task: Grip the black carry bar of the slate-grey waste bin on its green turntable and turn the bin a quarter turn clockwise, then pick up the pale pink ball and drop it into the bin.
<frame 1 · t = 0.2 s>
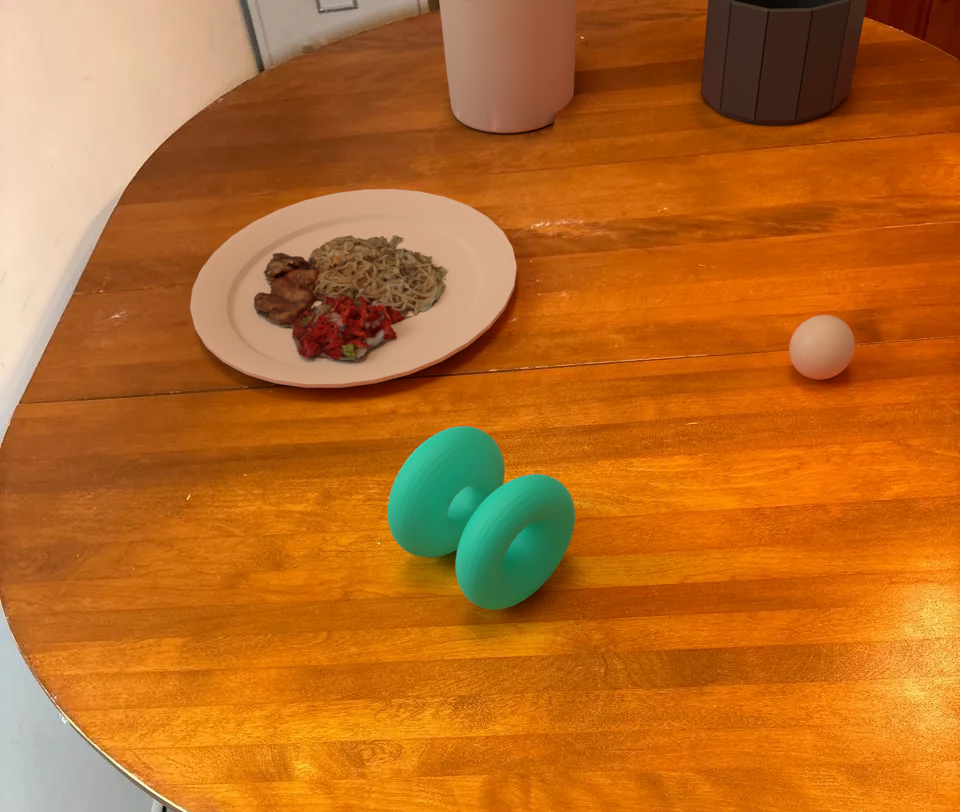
teal spool: (486, 567, 77), on the table
turntable: (771, 101, 114), on the table
utensil holder: (513, 104, 118), on the table
plated food: (356, 297, 98), on the table
bin: (782, 21, 107), point 8 cm above the table, hinge at 0.0°
pale pink ball: (821, 347, 85), point 2 cm above the table
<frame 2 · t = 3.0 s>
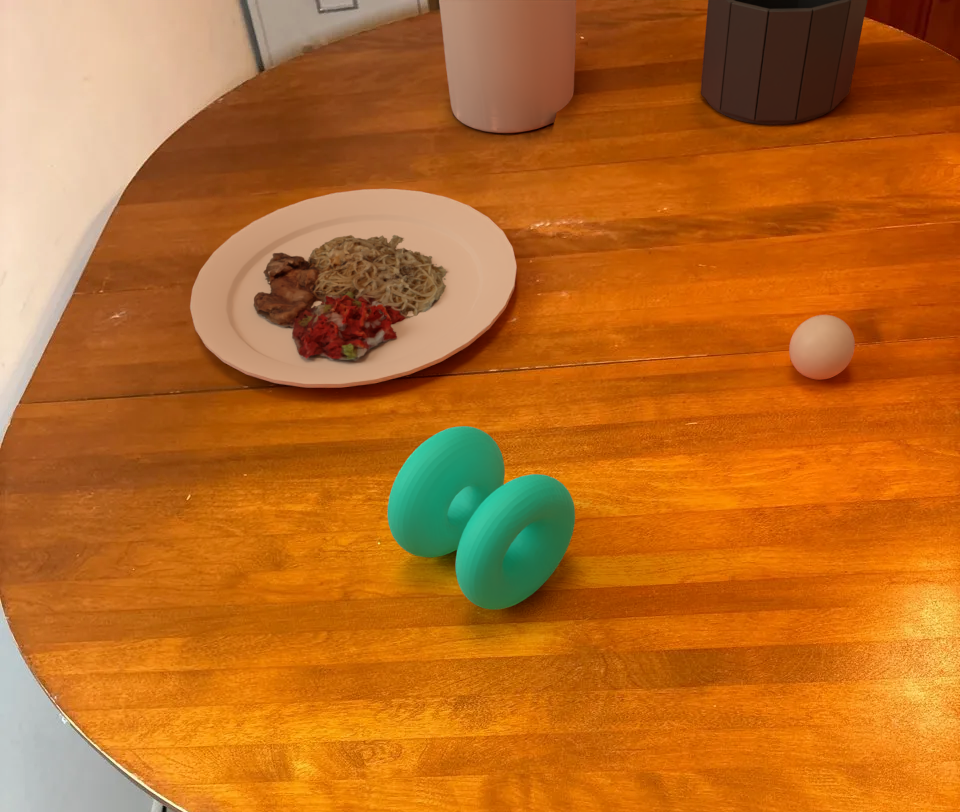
bin: (782, 21, 107), point 8 cm above the table, hinge at 0.0°, touching gripper
everything else where it was.
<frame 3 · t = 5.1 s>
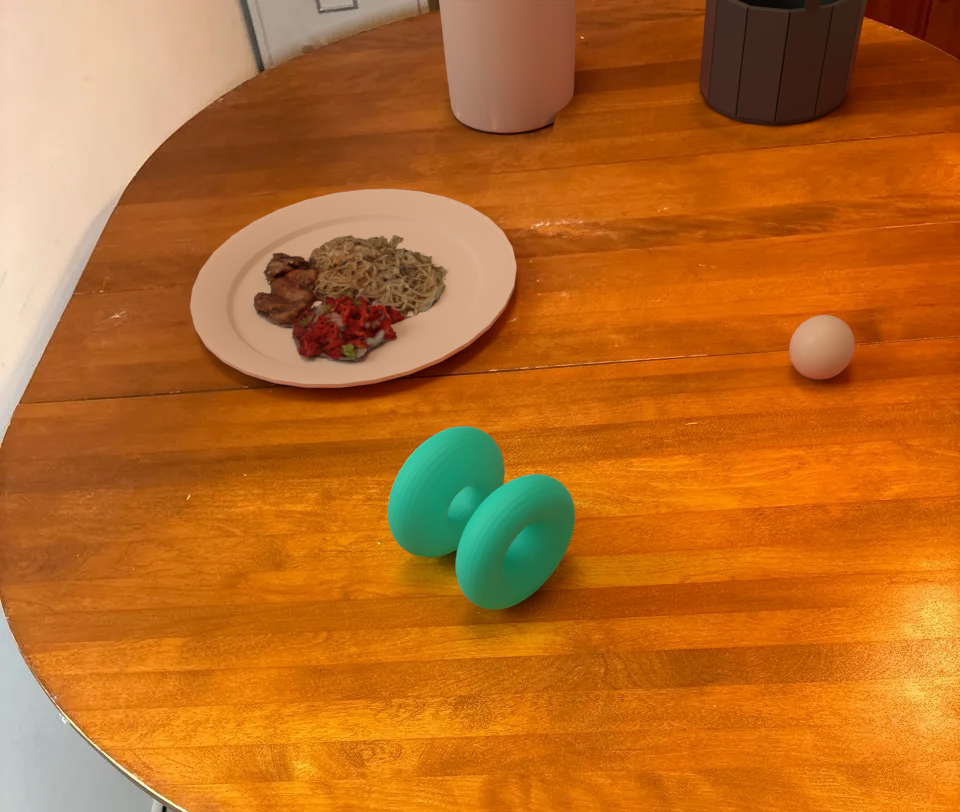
bin: (782, 21, 107), point 8 cm above the table, hinge at -75.2°, touching gripper
everything else where it was.
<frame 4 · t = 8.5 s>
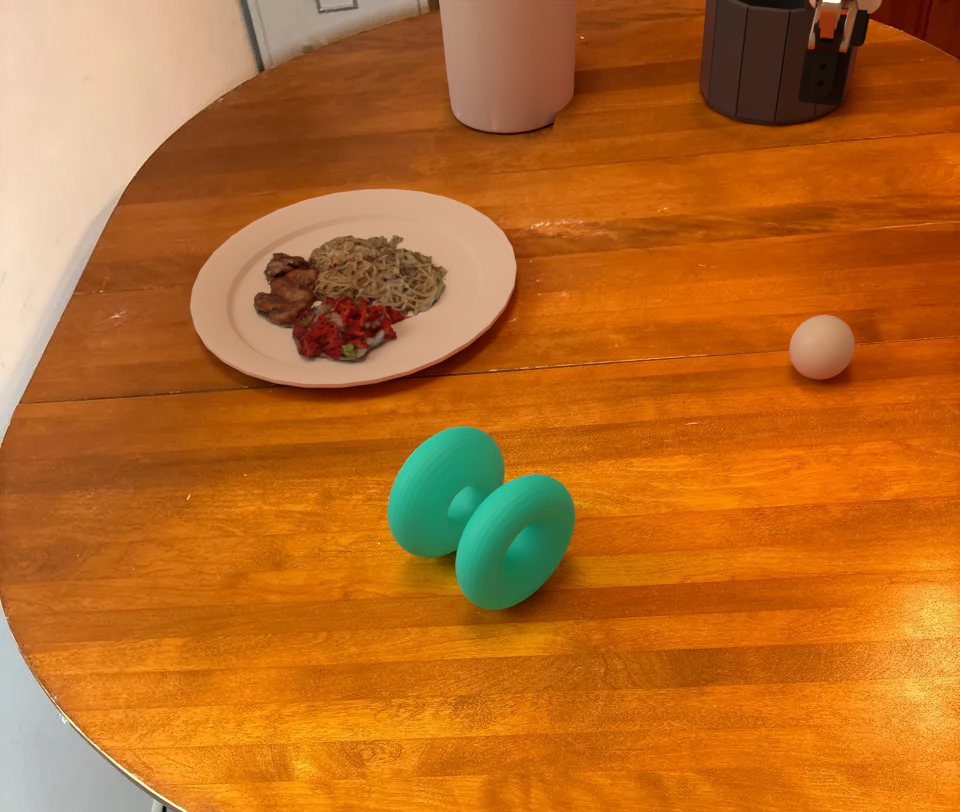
hand: (831, 71, 82), 17 cm above the table, tool pointing down, fingers open, 9 cm apart
bin: (782, 21, 107), point 8 cm above the table, hinge at -75.3°
everything else where it was.
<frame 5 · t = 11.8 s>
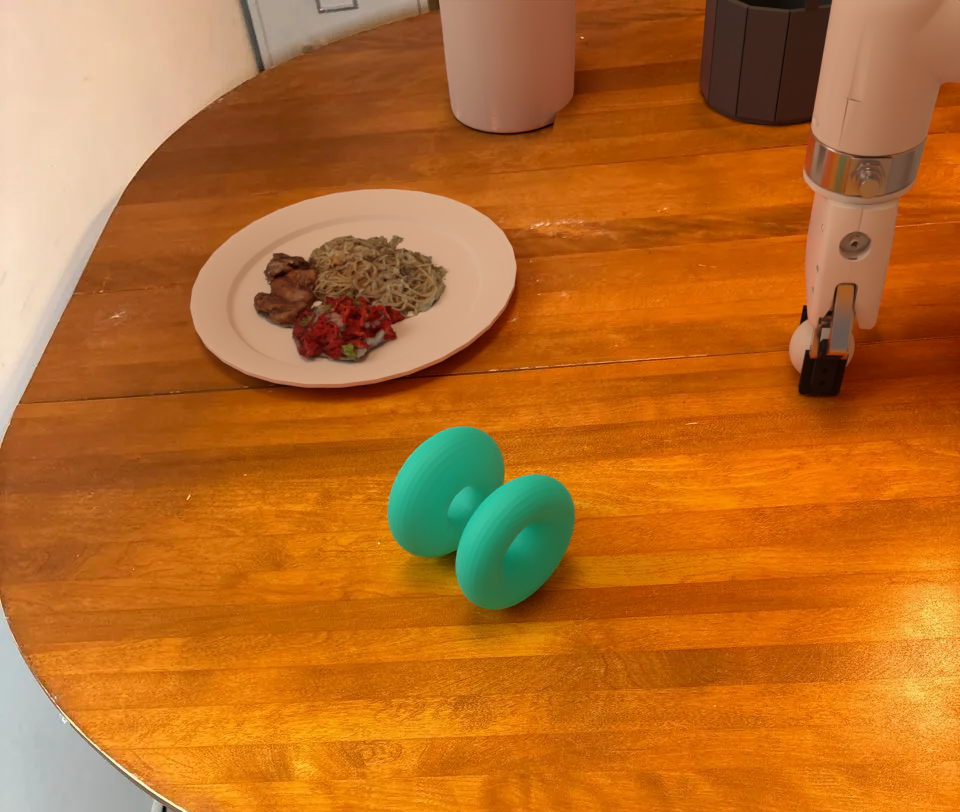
hand: (817, 368, 86), 0 cm above the table, tool pointing down, fingers closed on pale pink ball, 4 cm apart
pale pink ball: (821, 347, 85), point 2 cm above the table, touching gripper
everything else where it was.
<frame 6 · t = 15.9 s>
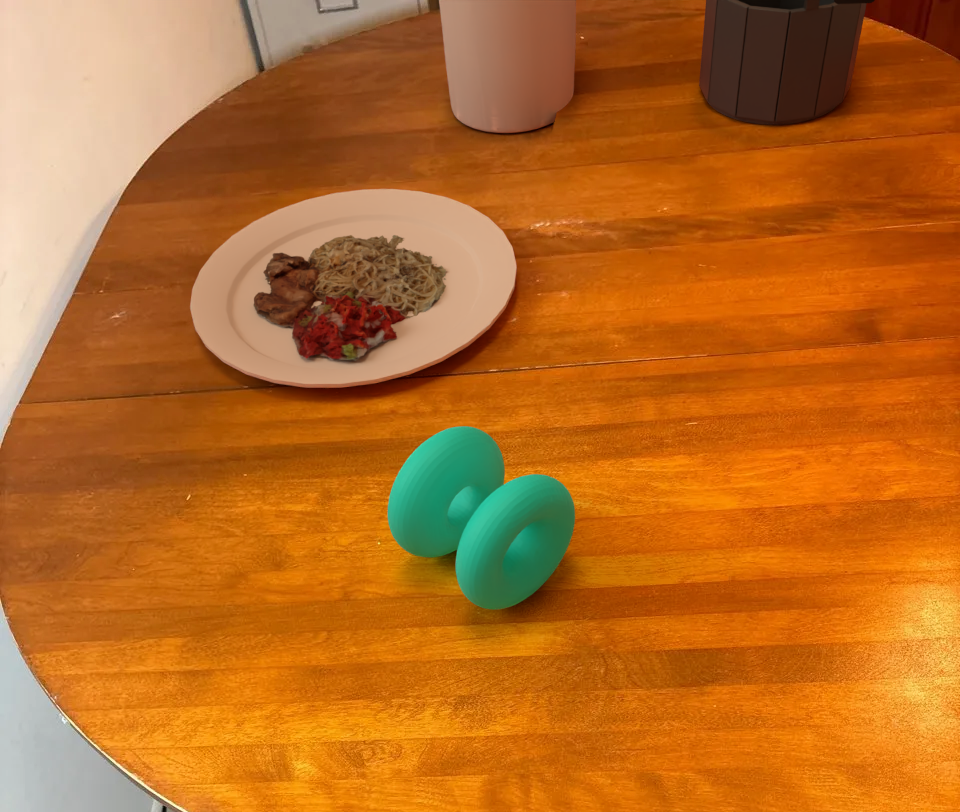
when the fingers open (12 cm above the table, at t = 20.0 s): pale pink ball drops 10 cm, resting on bin.
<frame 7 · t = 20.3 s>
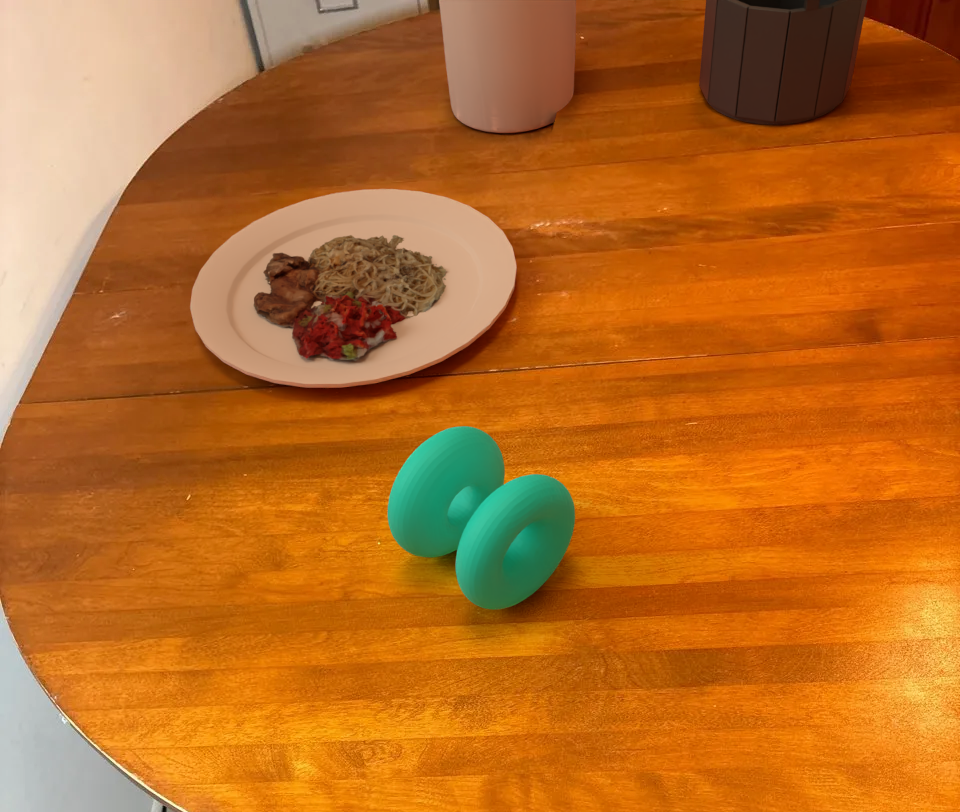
bin: (782, 21, 107), point 8 cm above the table, hinge at -75.3°, touching pale pink ball
pale pink ball: (814, 59, 110), point 4 cm above the table, touching bin
everything else where it was.
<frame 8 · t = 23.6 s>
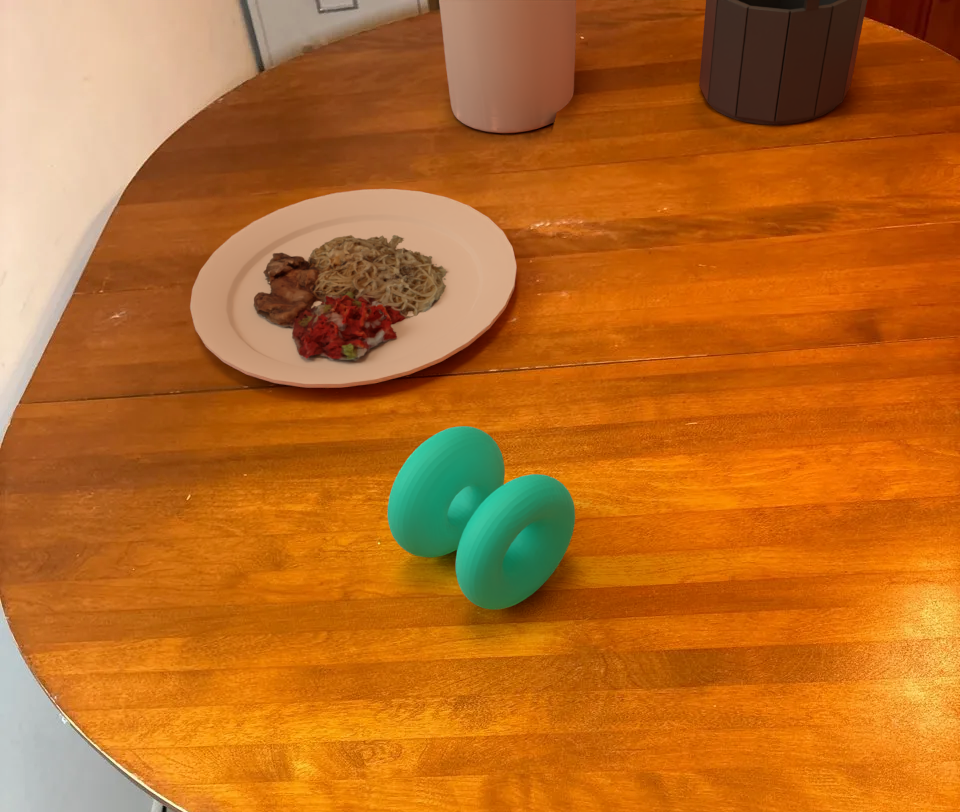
nothing on the table moved.
at the end: bin at -75° (first picture: +0°); pale pink ball inside the target area on the bin (3.7 cm from its centre), point 3.1 cm above the bin's base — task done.
